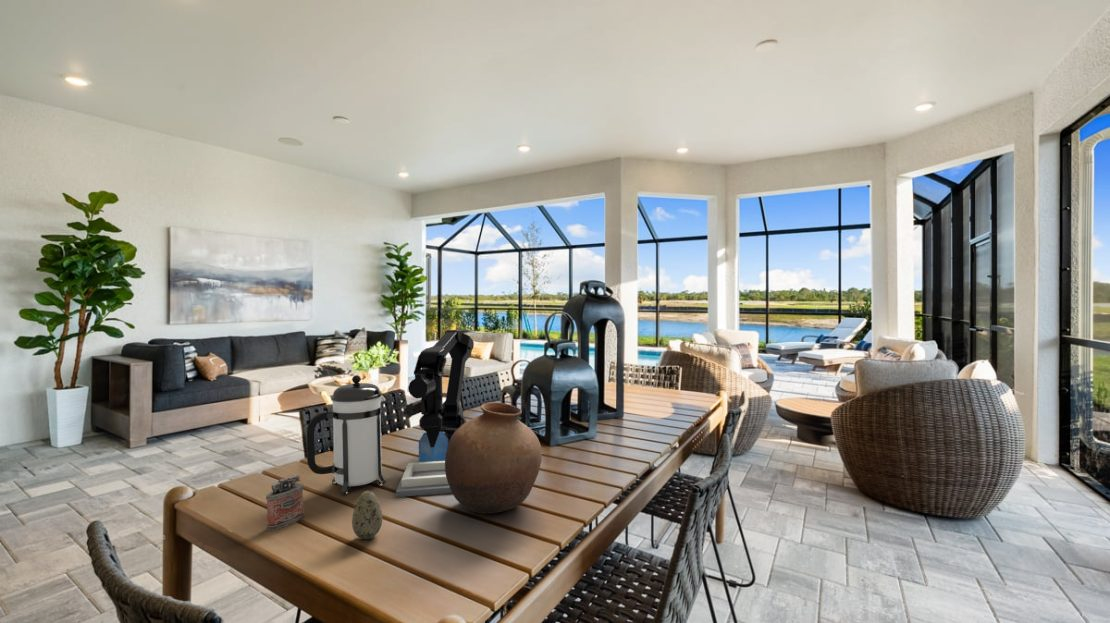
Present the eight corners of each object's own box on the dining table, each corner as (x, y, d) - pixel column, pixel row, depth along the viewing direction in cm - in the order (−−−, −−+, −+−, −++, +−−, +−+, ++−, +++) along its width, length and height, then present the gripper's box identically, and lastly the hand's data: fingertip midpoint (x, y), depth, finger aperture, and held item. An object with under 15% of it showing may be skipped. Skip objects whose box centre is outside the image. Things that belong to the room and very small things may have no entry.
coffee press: (347, 472, 141) (345, 370, 140) (397, 476, 138) (395, 371, 137) (305, 496, 124) (303, 380, 123) (361, 501, 121) (359, 382, 120)
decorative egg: (361, 530, 105) (360, 485, 105) (387, 531, 105) (386, 486, 104) (346, 544, 99) (345, 496, 99) (374, 545, 99) (373, 497, 98)
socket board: (406, 472, 141) (405, 460, 141) (458, 468, 143) (458, 457, 143) (396, 497, 123) (395, 483, 123) (456, 492, 126) (455, 479, 125)
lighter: (271, 531, 105) (270, 486, 105) (263, 528, 107) (262, 483, 107) (307, 517, 112) (306, 474, 112) (299, 514, 114) (298, 472, 114)
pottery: (437, 498, 122) (436, 400, 122) (523, 483, 131) (522, 392, 131) (456, 538, 101) (454, 420, 101) (557, 517, 110) (556, 409, 110)
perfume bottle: (448, 459, 148) (447, 420, 148) (433, 465, 143) (432, 425, 142) (434, 456, 151) (433, 418, 151) (418, 462, 146) (418, 422, 146)
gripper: (409, 387, 154) (410, 435, 155) (400, 399, 136) (401, 454, 136) (444, 385, 156) (445, 433, 157) (440, 397, 138) (441, 451, 138)
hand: (433, 442), depth 147 cm, fingers closed on perfume bottle, 9 cm apart
